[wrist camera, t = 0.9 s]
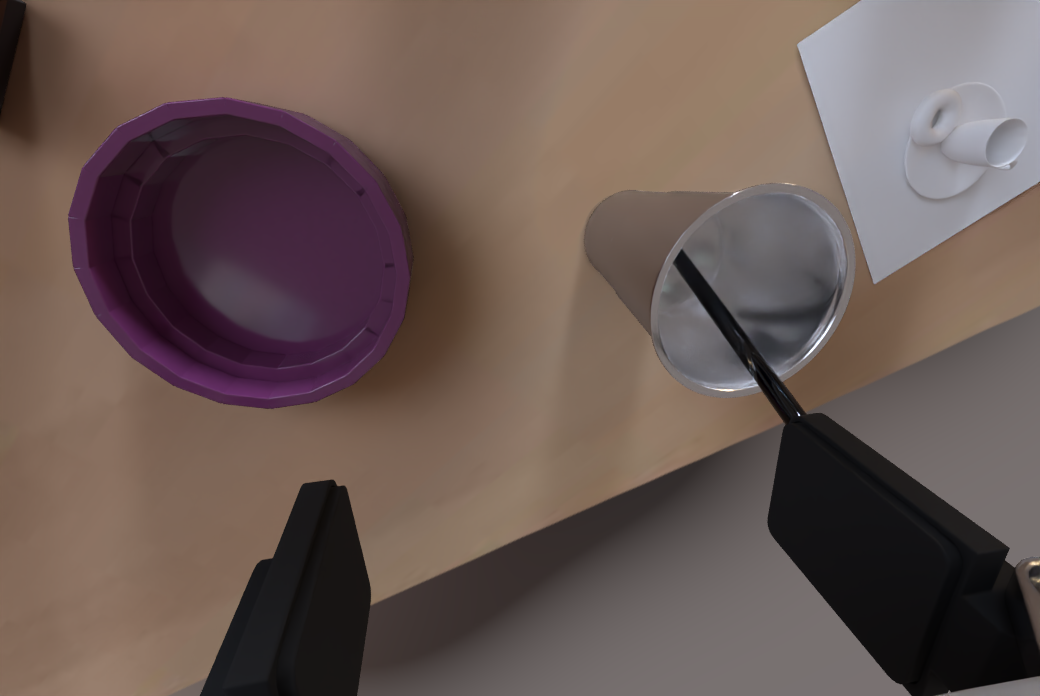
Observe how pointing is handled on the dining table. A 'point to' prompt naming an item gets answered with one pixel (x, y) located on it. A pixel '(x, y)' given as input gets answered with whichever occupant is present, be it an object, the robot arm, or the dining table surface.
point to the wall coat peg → (9, 38)
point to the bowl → (241, 251)
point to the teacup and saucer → (927, 115)
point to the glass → (728, 281)
